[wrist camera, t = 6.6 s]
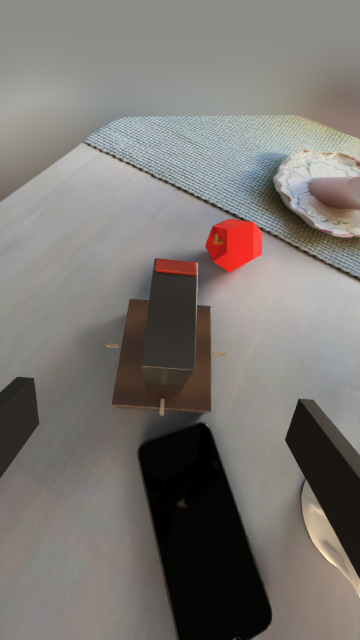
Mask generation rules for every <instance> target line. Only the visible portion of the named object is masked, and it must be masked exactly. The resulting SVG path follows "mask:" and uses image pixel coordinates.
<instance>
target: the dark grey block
mask: <svg viewBox="0 0 360 640" xmlns="http://www.w3.org/2000/svg"><path fill="white" fill-rule="evenodd" d="M197 287H198V263H196V262H187V261H178V260H168V259H159V258H155V261H154V269H153V276H152V284H151V292H150V300H149V308H148V315H147V323H146V331H145V339H144V347H143V355H142V362H141V367H142V372H143V376H144V381H145V385H146V390H156V391H170V392H181V390H182V389H183V387H184V386H185V384H186V383H187V381H188V380H189V378H190V377H191V375H192V374H193V372H194V371H195V355H196V321H197Z"/></svg>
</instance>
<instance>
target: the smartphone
mask: <svg viewBox="0 0 360 640" xmlns="http://www.w3.org/2000/svg"><path fill="white" fill-rule="evenodd" d="M137 454H138V461H139V466H140V470H141V475H142V480H143V484H144V489H145V493H146V498H147V503H148V507H149V512H150V516H151V521H152V526H153V530H154V535H155V539H156V544H157V548H158V553H159V558H160V562H161V567H162V572H163V576H164V581H165V587H166V592H167V597H168V601H169V606H170V610H171V613H172V617H173V622H174V627H175V631H176V636H177V640H251V639H252V638H254V637H256V636H257V635H259V634H261V633H262V632H264V631H265V630H267V629H268V627H269V626H270V624H271V622H272V609H271V605H270V601H269V598H268V595H267V593H266V590H265V587H264V583H263V580H262V578H261V575H260V572H259V568H258V565H257V562H256V559H255V556H254V554H253V551H252V547H251V544H250V541H249V538H248V536H247V534H246V531H245V528H244V525H243V522H242V519H241V516H240V513H239V510H238V507H237V504H236V501H235V498H234V495H233V493H232V490H231V487H230V484H229V481H228V478H227V475H226V472H225V469H224V466H223V463H222V460H221V457H220V454H219V451H218V448H217V445H216V443H215V440H214V437H213V434H212V431H211V429H210V427H209V426H208V424H206V423H204V422H198V423H195V424H192V425H189V426H186V427H183V428H180V429H178V430H176V431H173V432H170V433H167V434H164V435H161V436H158V437H155V438H153V439H150V440H147V441H145V442H143V443H142V444H141V445H140V446H139V448H138V453H137Z"/></svg>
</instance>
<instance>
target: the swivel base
mask: <svg viewBox="0 0 360 640" xmlns="http://www.w3.org/2000/svg"><path fill="white" fill-rule="evenodd" d="M148 308H149V301H148V300H137V299H130V301H129V307H128V313H127V319H126V325H125V330H124V336H123V342H122V348H121V354H120V360H119V366H118V372H117V378H116V384H115V390H114V395H113V401H112V405H113V406H115V407H117V408H129V409H144V410H159V411H160V414H159V415H164V411H174V412H189V413H208V412H211V307H210V306H200V305H197V321H196V355H195V371H194V372H193V374H192V375H191V377H190V378H189V380H188V381H187V383H186V384H185V386H184V387H183V389H182V390H181V392H170V391H156V390H146V385H145V381H144V376H143V372H142V367H141V362H142V355H143V347H144V339H145V331H146V323H147V315H148ZM105 347H114V348H119V347H120V344H113V343H105ZM213 356H223V357H227V353H220V352H213Z"/></svg>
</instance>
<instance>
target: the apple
mask: <svg viewBox="0 0 360 640" xmlns="http://www.w3.org/2000/svg"><path fill="white" fill-rule="evenodd" d="M205 246H206V248H207V250H208V252H209V254H210V256H211V258H212V260H213V262H215V263H216V264H218V265H219V266H221V267H222V268H224V269H225V270H227V271H228V272H231V271H232V270H234V269H236V268H238V267H240V266H242V265H244V264H245V263H247V262H249V261H251V260H253V259H255V258H256V257H258V256H260V255H262V233H261V231H260V230H259V229H258V227H257V226H256V225H255V223H254V222H248V221H241V220H234V219H228V220H226V221H223V222H221V223H219V224H217V225H214V226H213V227H212V230H211V232H210V235H209V237H208V240H207V243H206V245H205Z"/></svg>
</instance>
